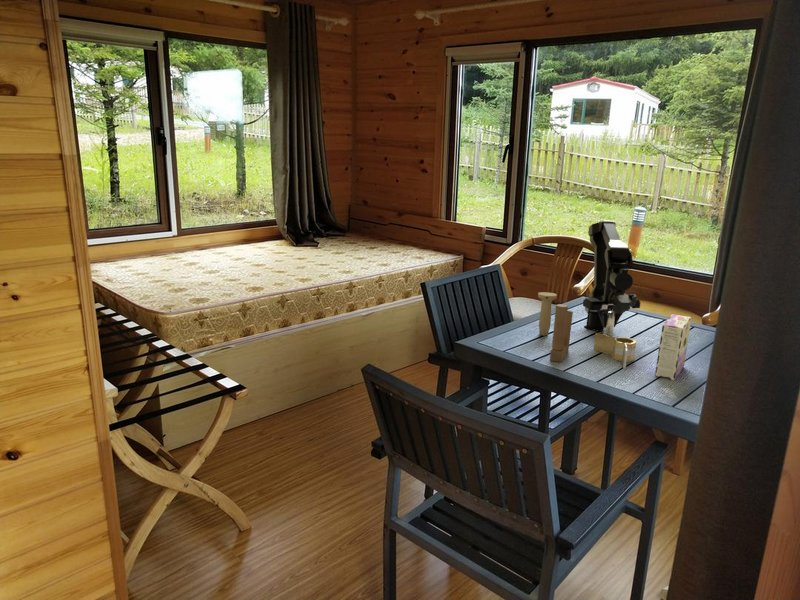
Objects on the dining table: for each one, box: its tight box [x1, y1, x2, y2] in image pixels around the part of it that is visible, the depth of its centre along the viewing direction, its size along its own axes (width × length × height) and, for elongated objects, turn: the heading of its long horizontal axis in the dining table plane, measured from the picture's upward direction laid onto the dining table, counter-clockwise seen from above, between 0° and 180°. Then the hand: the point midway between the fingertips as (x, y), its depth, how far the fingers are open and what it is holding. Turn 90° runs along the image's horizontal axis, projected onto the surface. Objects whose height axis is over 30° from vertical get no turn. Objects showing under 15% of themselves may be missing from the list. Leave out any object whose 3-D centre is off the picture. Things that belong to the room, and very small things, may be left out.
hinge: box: [593, 331, 637, 370], centre depth 193 cm, size 16×12×6 cm
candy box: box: [654, 313, 692, 381], centre depth 182 cm, size 14×6×16 cm, turn 145°
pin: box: [602, 311, 616, 337], centre depth 207 cm, size 3×3×10 cm
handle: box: [537, 291, 558, 337], centre depth 213 cm, size 5×6×15 cm
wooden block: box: [549, 303, 574, 363], centre depth 192 cm, size 4×11×18 cm, turn 153°
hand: (608, 327), depth 207 cm, fingers closed on pin, 3 cm apart
